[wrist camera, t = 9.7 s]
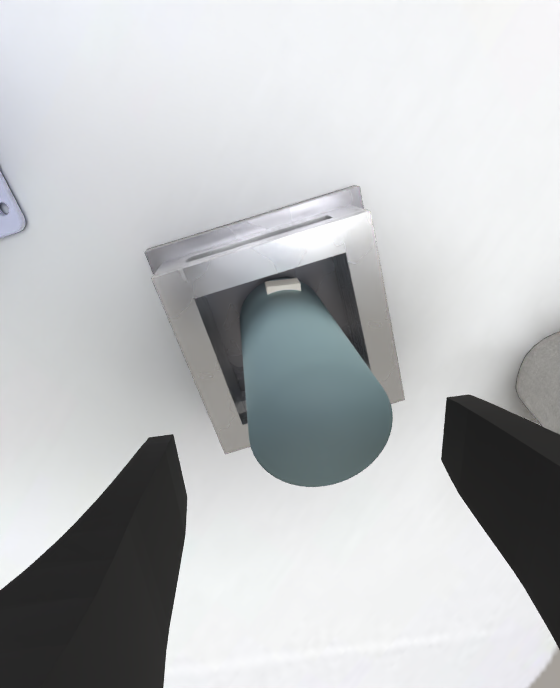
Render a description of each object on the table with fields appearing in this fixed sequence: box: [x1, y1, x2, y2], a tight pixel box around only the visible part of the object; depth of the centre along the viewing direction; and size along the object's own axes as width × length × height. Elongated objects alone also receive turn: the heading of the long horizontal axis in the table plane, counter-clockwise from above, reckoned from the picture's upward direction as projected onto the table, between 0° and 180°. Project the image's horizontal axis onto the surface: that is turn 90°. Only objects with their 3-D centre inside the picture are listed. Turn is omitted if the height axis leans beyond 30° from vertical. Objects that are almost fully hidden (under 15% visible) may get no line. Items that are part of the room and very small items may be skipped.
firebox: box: [145, 185, 405, 454], centre depth 19 cm, size 10×10×4 cm
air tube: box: [240, 278, 393, 487], centre depth 15 cm, size 4×4×9 cm
